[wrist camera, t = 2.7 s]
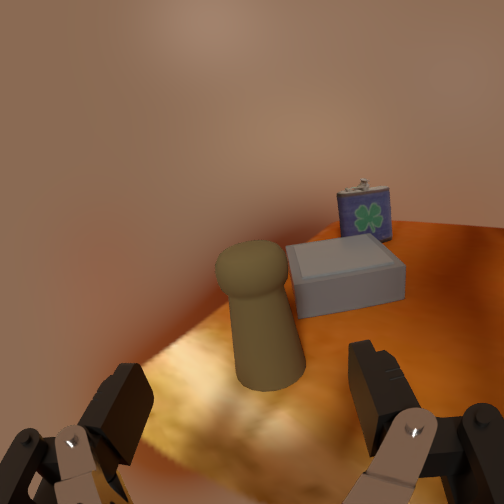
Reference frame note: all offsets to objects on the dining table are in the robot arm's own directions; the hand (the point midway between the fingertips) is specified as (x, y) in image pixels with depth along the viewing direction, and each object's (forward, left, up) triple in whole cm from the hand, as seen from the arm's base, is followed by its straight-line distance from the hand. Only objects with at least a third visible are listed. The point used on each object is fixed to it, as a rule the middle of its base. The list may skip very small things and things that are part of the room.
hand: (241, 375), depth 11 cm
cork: (0, -12, -10) cm, 15 cm away
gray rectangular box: (-9, -25, -10) cm, 28 cm away
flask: (-17, -38, -10) cm, 42 cm away
